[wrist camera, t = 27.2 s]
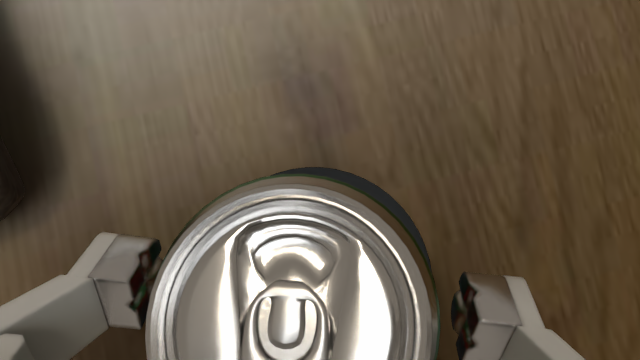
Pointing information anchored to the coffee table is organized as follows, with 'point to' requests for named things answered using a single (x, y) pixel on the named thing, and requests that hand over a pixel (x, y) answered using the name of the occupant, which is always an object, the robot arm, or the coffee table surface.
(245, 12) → the coffee table surface
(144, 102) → the coffee table surface
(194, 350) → the soda can
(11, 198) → the dark brown bone
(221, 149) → the coffee table surface
